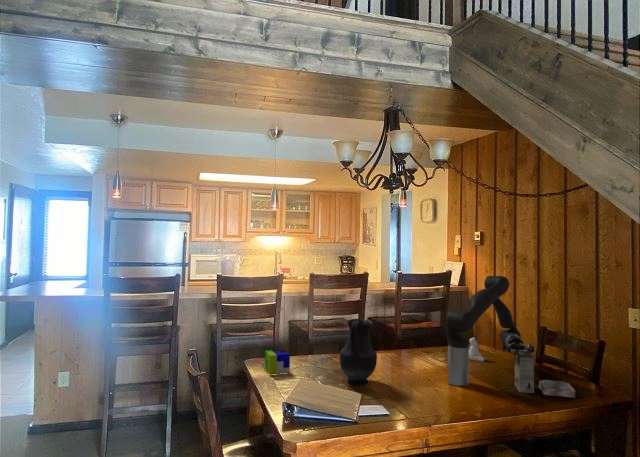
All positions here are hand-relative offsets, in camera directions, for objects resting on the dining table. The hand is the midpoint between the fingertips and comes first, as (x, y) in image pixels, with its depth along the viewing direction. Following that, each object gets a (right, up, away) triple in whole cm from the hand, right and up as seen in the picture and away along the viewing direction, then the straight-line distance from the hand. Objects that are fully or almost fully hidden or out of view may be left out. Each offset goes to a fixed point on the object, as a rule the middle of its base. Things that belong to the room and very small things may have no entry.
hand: (520, 351), depth 204 cm
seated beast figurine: (-8, -15, +37) cm, 40 cm away
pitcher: (-77, -14, -4) cm, 79 cm away
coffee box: (-3, -14, -12) cm, 18 cm away
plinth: (+9, -14, -15) cm, 22 cm away
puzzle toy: (-116, -14, +12) cm, 118 cm away
